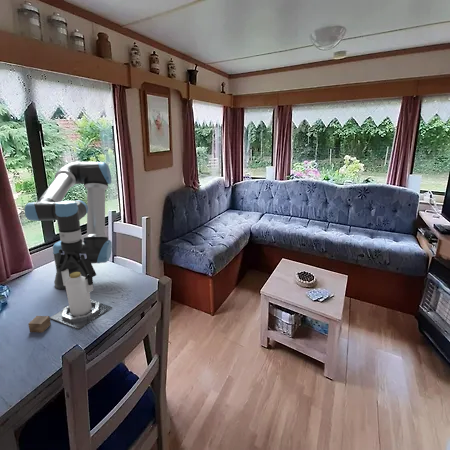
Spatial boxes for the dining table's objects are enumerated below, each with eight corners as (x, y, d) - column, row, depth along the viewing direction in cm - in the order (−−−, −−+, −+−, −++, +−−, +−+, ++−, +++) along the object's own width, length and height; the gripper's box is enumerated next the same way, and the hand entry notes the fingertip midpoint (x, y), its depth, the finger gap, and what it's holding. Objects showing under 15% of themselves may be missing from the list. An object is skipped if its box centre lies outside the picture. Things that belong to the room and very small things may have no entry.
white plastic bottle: (75, 306, 122) (69, 269, 117) (95, 305, 123) (89, 269, 118) (67, 318, 114) (59, 279, 109) (87, 317, 115) (81, 278, 110)
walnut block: (30, 332, 106) (28, 323, 105) (38, 324, 111) (36, 315, 110) (42, 332, 106) (41, 323, 105) (50, 324, 111) (49, 316, 110)
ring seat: (49, 318, 114) (48, 314, 114) (84, 298, 129) (83, 294, 129) (78, 330, 108) (78, 325, 107) (111, 307, 123) (111, 303, 122)
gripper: (41, 238, 111) (49, 285, 117) (85, 248, 101) (92, 299, 107) (58, 233, 117) (65, 277, 123) (102, 242, 108) (107, 290, 114)
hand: (78, 287), depth 115 cm, fingers open, 13 cm apart
